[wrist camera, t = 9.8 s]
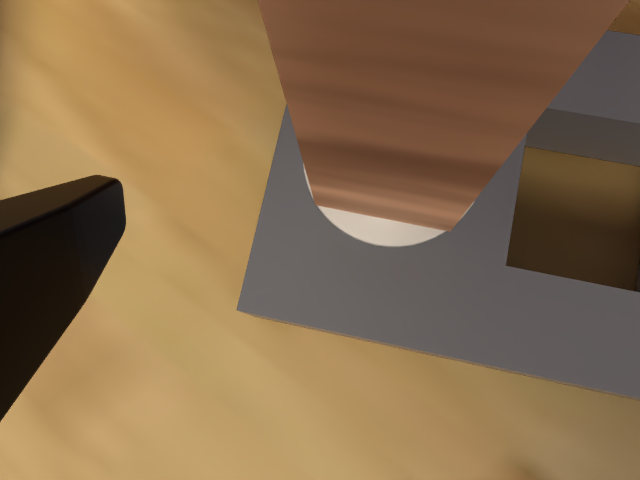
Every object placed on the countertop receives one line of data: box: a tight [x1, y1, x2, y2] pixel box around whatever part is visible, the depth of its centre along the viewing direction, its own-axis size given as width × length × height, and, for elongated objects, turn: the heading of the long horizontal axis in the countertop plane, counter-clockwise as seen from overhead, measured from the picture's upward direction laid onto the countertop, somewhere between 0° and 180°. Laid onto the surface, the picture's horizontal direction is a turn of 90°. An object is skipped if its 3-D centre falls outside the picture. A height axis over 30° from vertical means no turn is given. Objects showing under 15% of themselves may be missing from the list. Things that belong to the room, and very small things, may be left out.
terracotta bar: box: [258, 0, 630, 232], centre depth 12 cm, size 4×4×13 cm
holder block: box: [237, 30, 640, 401], centre depth 20 cm, size 12×22×4 cm, turn 78°
